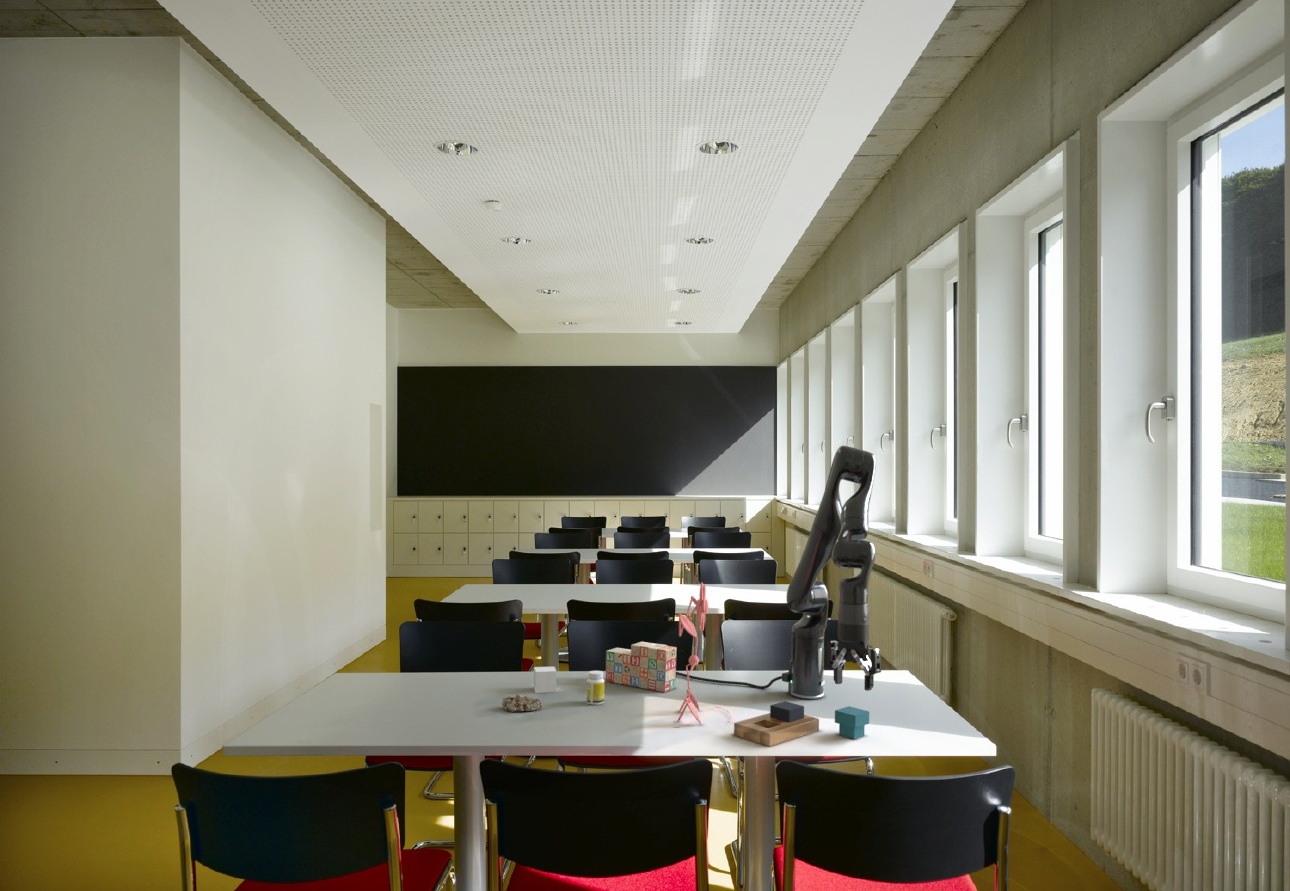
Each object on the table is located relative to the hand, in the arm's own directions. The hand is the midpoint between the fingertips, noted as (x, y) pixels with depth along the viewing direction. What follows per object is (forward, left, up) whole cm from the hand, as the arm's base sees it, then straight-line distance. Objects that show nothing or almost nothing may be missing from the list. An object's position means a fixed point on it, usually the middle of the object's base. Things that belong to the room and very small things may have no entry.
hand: (853, 686), depth 213 cm
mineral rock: (-70, -50, -12) cm, 87 cm away
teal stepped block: (0, 0, -12) cm, 12 cm away
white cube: (-82, -34, -12) cm, 90 cm away
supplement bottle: (-62, -31, -12) cm, 71 cm away
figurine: (-33, -18, -12) cm, 40 cm away
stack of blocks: (-69, -8, -12) cm, 71 cm away
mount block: (-13, -13, -12) cm, 22 cm away
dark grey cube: (-13, -9, -12) cm, 20 cm away
